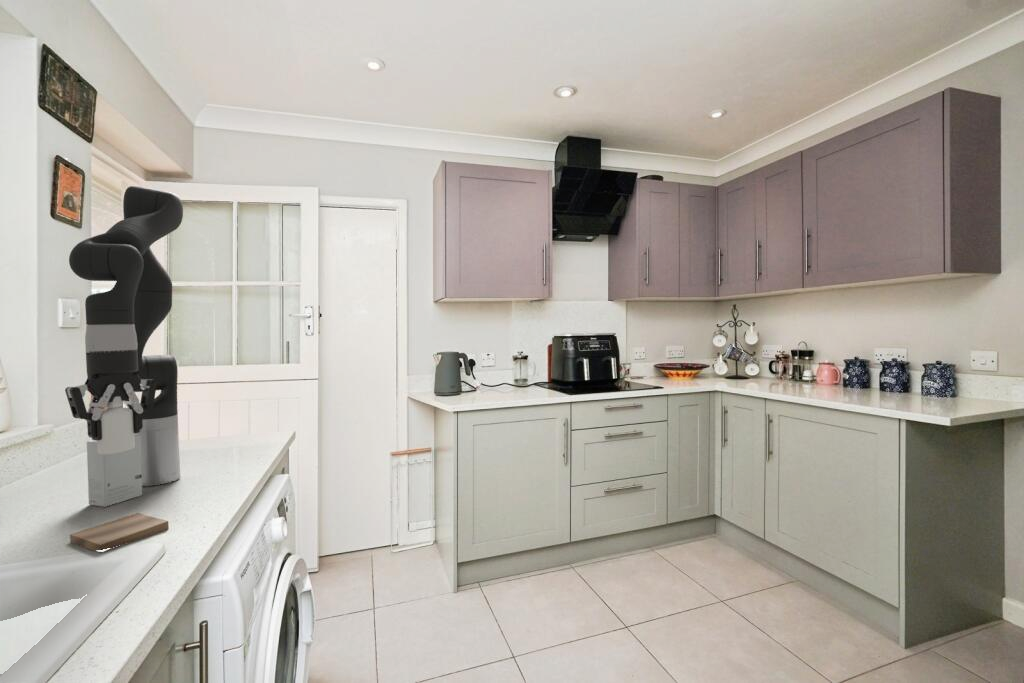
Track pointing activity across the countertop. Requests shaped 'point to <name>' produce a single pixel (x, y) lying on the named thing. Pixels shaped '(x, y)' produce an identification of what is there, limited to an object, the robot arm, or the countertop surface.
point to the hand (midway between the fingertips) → (116, 435)
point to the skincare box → (113, 475)
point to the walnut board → (119, 531)
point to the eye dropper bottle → (116, 429)
